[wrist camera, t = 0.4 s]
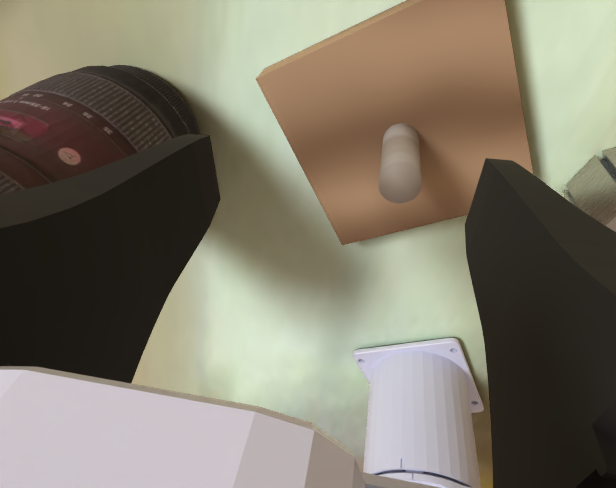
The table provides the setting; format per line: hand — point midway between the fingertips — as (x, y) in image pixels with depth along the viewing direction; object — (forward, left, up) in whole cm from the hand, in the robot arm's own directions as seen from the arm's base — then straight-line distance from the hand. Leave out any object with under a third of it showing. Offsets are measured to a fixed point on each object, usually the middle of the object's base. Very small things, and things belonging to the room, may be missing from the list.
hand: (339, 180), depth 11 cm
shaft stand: (-3, -1, -10) cm, 10 cm away
